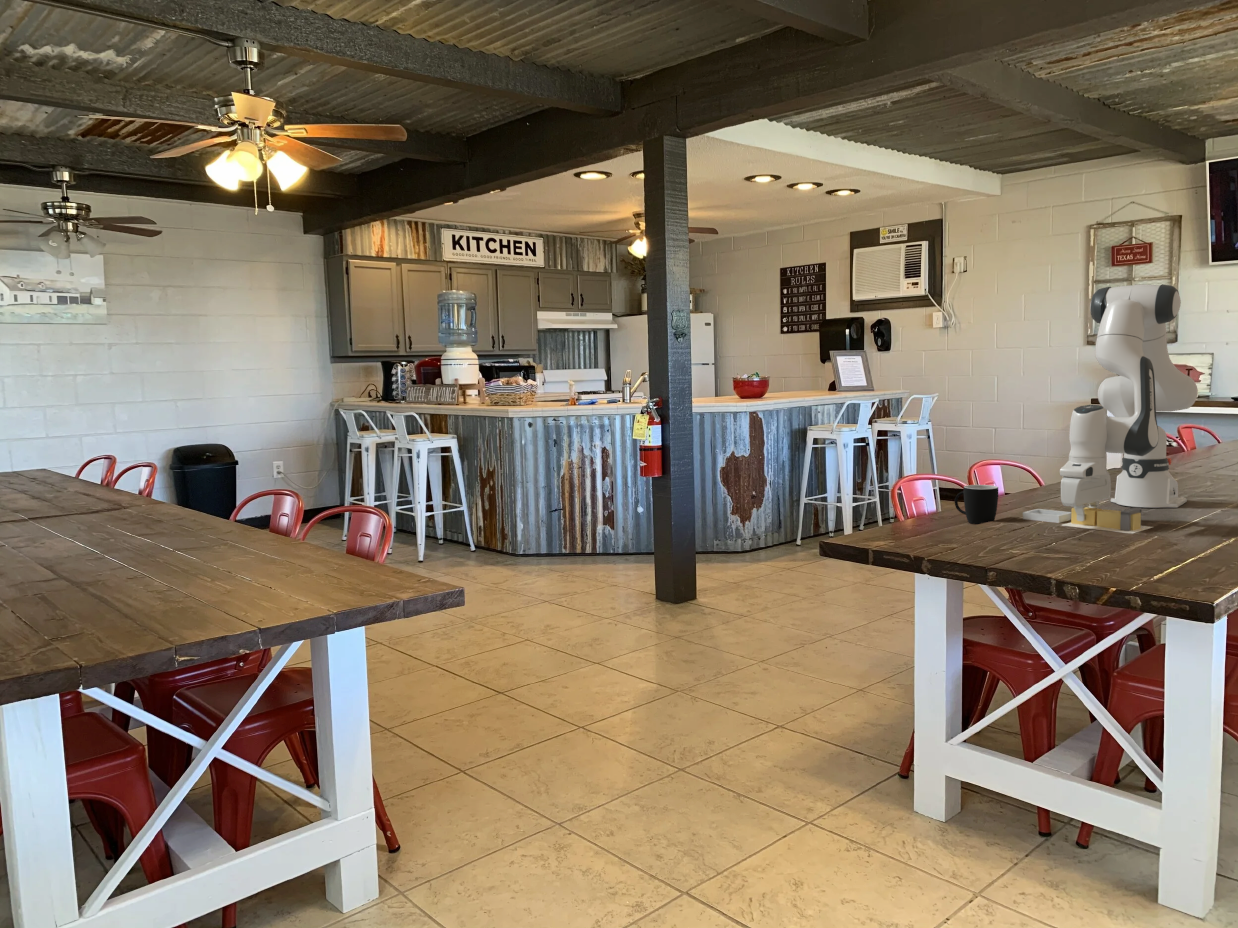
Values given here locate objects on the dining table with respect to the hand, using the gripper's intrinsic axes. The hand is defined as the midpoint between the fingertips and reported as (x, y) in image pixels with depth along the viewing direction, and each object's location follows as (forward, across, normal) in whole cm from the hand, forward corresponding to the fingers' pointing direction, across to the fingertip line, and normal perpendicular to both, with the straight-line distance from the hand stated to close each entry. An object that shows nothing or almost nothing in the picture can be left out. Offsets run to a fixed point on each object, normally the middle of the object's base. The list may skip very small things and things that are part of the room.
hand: (1086, 519), depth 242 cm
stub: (+1, 0, 0) cm, 1 cm away
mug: (+3, +10, -26) cm, 28 cm away
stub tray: (+2, -1, -11) cm, 11 cm away
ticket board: (+2, 0, +5) cm, 6 cm away
